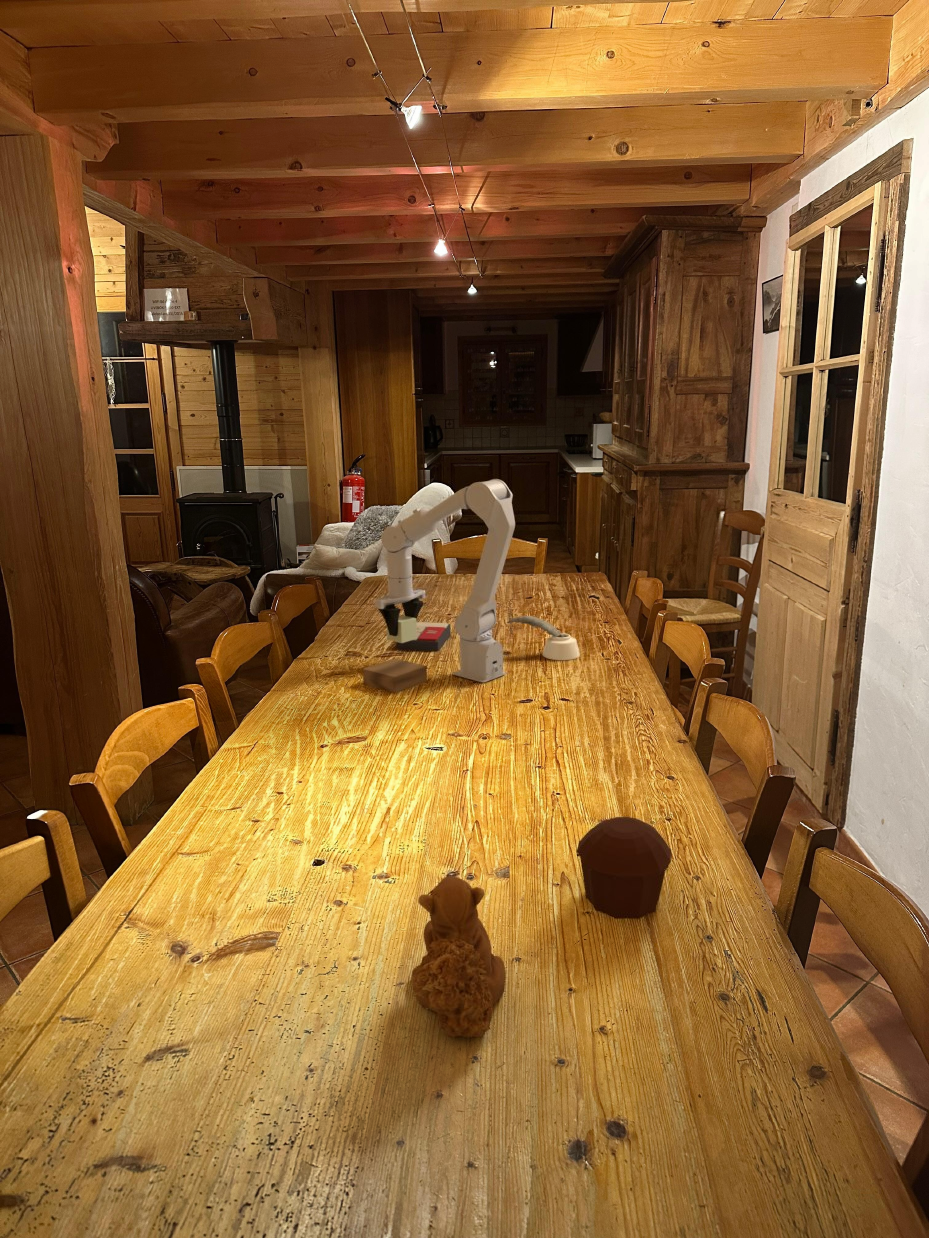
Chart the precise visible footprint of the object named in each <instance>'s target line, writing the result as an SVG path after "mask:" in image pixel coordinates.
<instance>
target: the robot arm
mask: <svg viewBox="0 0 929 1238" xmlns="http://www.w3.org/2000/svg"><path fill="white" fill-rule="evenodd" d="M513 496H514V495H513V493H512V491H511V490H510V489H509V487H508V485H507V484H506V483H505V482H504V481H503V480H501V479H498V478H493V479H489V480H487V481H478V482H473V483H472V484H470V485H469V486H465V487H464V488H460V489H459V490H458V491H456V492H455V493H453V494H452V495H450V496H448V498H445V499H444V500H443V501H442V502H439V503H438V504H437V505H435V506H434V507H433V508H431V509H428V508H424V507H423V508H420V507H419V508H415V509H414V510H412V513H413V514H411V515H409V516H408V517H406V518H401V519H399V520H398V521H397V525H389V526H387V527H386V528H385V529H384V530H383V532H382V533H381V538H380V540H381V544H382V546H383V548H384V549H385V550H386V567H387V569H386V570H387V571H386V572H387V588H388V589H387V593H386V595H384V596H382V597H379V598H377V599H375V600H374V608H375V609H378V611H379V613H380V614H381V616H382V617H383V619H384V622H385V624H386V629H387V628H388V631H389V635H391V636H397V635H398V619H399V616H400V613H401V611H402V609H403V614H404V616H408V617H412V618H416V622H418V617H419V614H420V613H421V610H422V608H423V606H424V602H423V600H424V599H426V590H425V589H415V590H414V589H413V559H412V557H413V556H412V554H413V547H414V545H415V544H416V542H418V541H420V540H423V538H425V537H427V536H428V535H430V534H432V533H433V532H435V531H436V530H437V528H438V524H439V522H441V521H443V520H444V519H446V518H448V517H451V515H454V514H455V513H458V512H459V511H461V510H463V509H464V510H468V509H470V510H471V511H472V512H473V513H474V514H476V516H477V517H479V518H480V519H481V520H483V522H484V524H485V525H486V527H487V528H488V530H487V534H486V539H485V542H484V545H483V547H482V548H483V549H482V552H481V556H480V560H479V564H478V567H477V570H476V575H475V578H474V581H473V585H472V589H471V592H470V595H469V596H468V598H467V600H466V601H465V602H464V604H463V605H462V609H461V611H460V613H458V614H457V616H456V617H455V619H454V629H455V632H456V633H457V635H458V636H459V645H460V647H459V648H460V649H459V653H460V655H459V656H460V657H459V658H460V669H459V670H456V671H454V672H452V675H453V676H457V677H460V678H463V679H468V680H472V681H476V682H479V683H486V682H489V681H491V680H496V679H497V678H499V677H503V676H504V675H506V672H505V671H504V649H503V646H502V643H501V642H499V641H498V640H495V639H494V638H493V632H492V631H493V630H492V629H493V628H494V627H495V626H496V624H497V614H496V613H497V612H496V611H497V610H496V609H497V606H498V603H497V602H496V600H495V597H496V593H497V590H498V588H499V583H500V580H501V577H502V573H503V570H504V565H505V563H506V559H507V555H508V553H509V552H508V551H509V550H510V549H509V548H510V546H511V541H512V538H513V535H514V531H515V527H516V521H515V514H514V510H513V504H512V503H513V502H512V501H513ZM420 599H421V600H420ZM422 599H423V600H422ZM399 604H401V606H402V609H401V608H398V607H396V606H397V605H399Z"/></svg>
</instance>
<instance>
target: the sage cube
mask: <svg viewBox="0 0 929 1238" xmlns="http://www.w3.org/2000/svg"><path fill="white" fill-rule="evenodd" d="M416 622H417V621H416V618H412V617H408V616H405V615H403V614H402V615H399V619H398V635H397V636H391V635H389V631H388V628H387V627H386V640H387V641H392V642H394V643H396V642H399V643H404V642H408V641H411V640H414V639H417V624H416Z"/></svg>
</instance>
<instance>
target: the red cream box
mask: <svg viewBox="0 0 929 1238" xmlns="http://www.w3.org/2000/svg"><path fill="white" fill-rule="evenodd" d="M416 624H417V639H414V640H411V641H408V642H404V643H399V642H395V643H396V650H397V651H398V650H399V651H401V650H402V651H419V652H420V651H421V652H439V651H440V650H441V649H442V648H443V646H444V645H445V643H446V642H447V641H448V640H449V639H450V638H451V637H452V634H451V631H452V630H451V624H449V623H447V622H446V623H445V622H429V621H428V622H427V621H426V622H425V621H416Z"/></svg>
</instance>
